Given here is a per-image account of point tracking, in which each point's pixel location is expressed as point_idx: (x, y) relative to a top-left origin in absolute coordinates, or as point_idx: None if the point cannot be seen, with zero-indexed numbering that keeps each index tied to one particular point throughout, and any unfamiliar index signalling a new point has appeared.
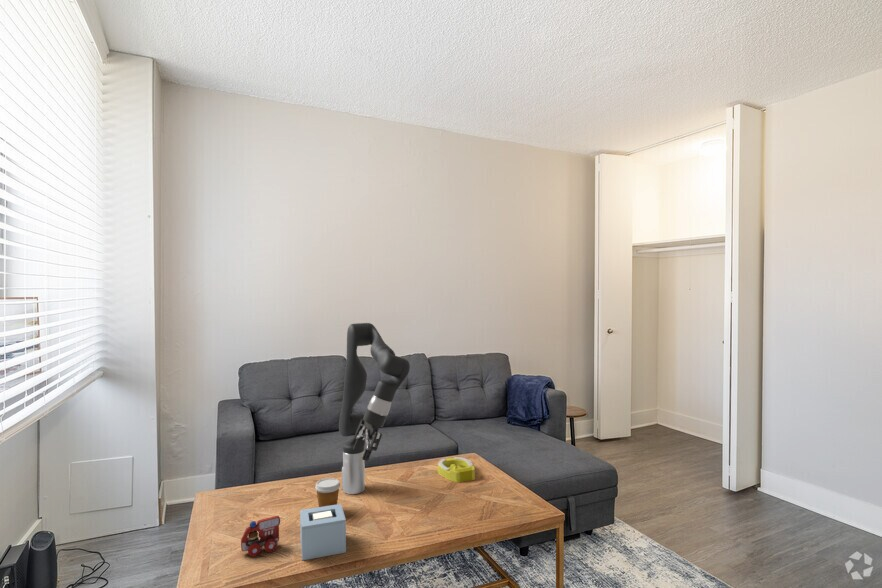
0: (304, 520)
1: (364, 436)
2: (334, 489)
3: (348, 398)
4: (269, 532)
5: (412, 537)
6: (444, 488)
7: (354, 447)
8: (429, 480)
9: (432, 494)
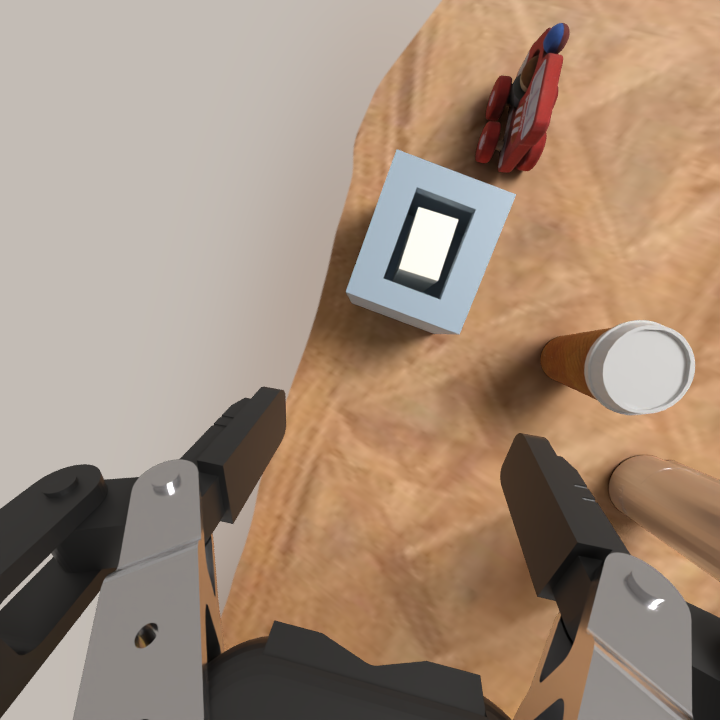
0: (432, 175)
1: (388, 680)
2: (587, 373)
3: None
4: (515, 122)
5: (306, 461)
6: None
7: (529, 446)
8: None
9: (455, 631)
